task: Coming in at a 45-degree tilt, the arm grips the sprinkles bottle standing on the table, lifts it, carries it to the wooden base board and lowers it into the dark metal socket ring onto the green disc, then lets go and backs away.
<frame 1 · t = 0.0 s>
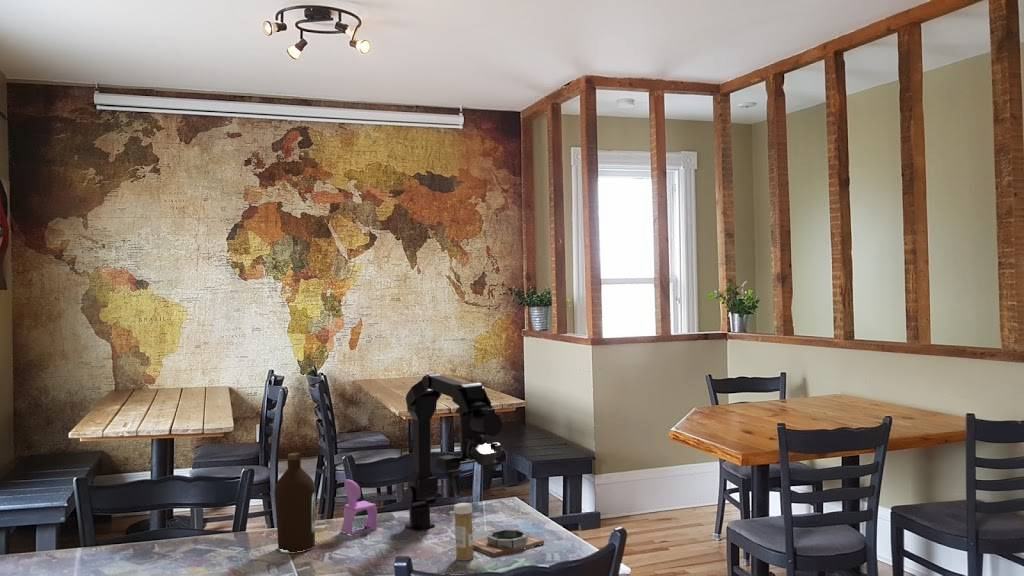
hand: (472, 492, 219), 15 cm above the table, tool pointing down, fingers open, 9 cm apart
wooden base board: (505, 545, 221), on the table
toy chair: (359, 531, 239), on the table
olive oil: (297, 549, 224), on the table
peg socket: (507, 546, 221), resting on wooden base board
sprinkles bottle: (464, 559, 211), on the table
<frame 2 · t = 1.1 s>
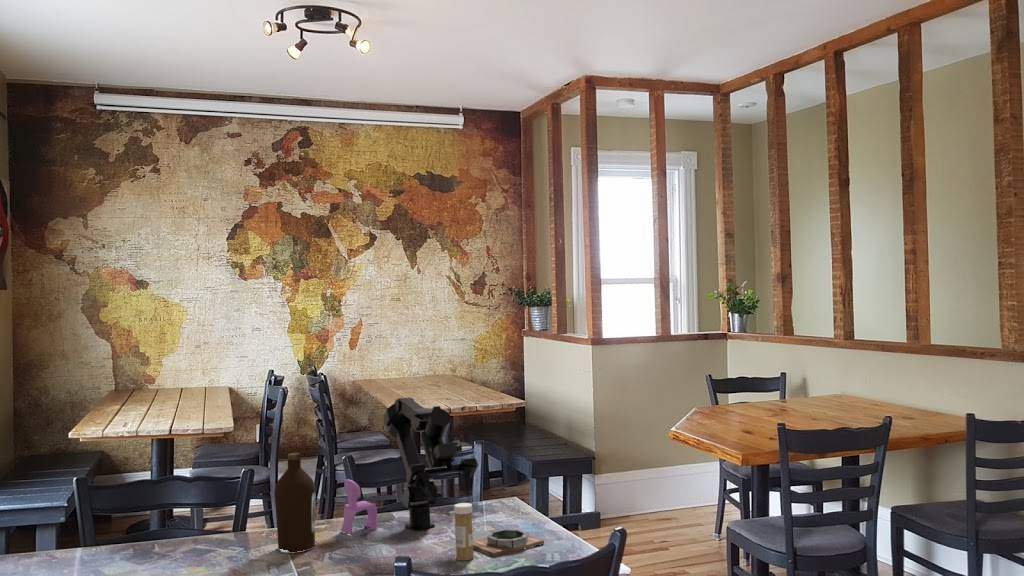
hand: (451, 498, 219), 13 cm above the table, tool tilted 45°, fingers open, 9 cm apart
nothing on the table moved.
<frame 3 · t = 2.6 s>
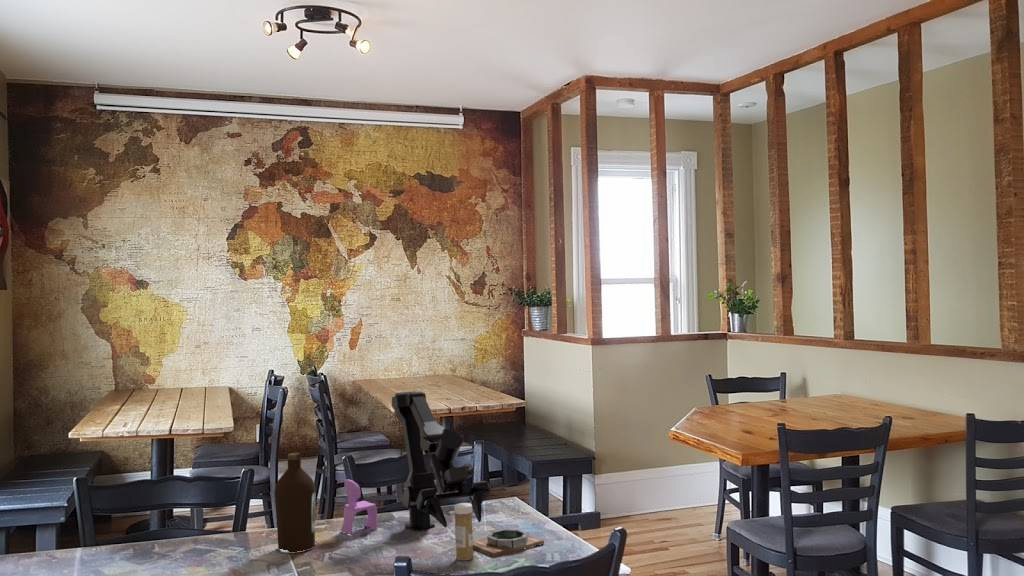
hand: (463, 523, 212), 9 cm above the table, tool tilted 45°, fingers open, 9 cm apart
nothing on the table moved.
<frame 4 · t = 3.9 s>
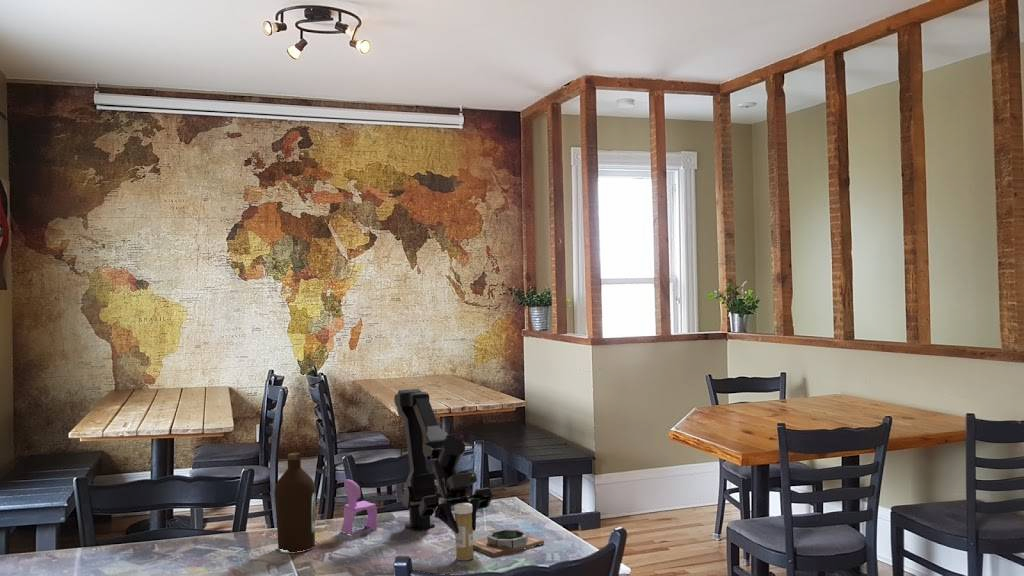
hand: (465, 531, 210), 7 cm above the table, tool tilted 45°, fingers closed on sprinkles bottle, 4 cm apart
sprinkles bottle: (464, 559, 211), on the table, touching gripper
everything else where it was.
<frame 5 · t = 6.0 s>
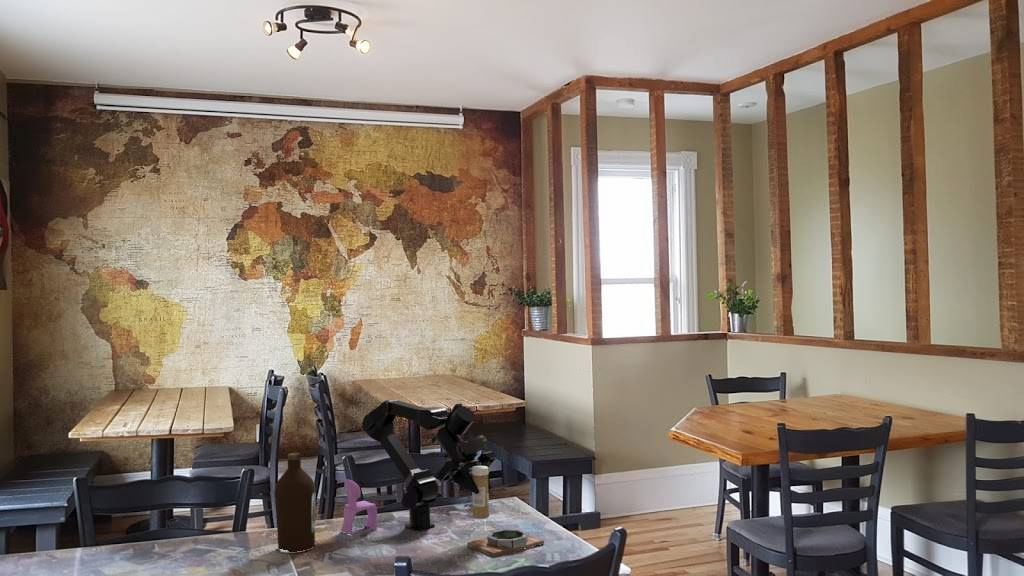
hand: (484, 491, 226), 13 cm above the table, tool tilted 45°, fingers closed on sprinkles bottle, 4 cm apart
sprinkles bottle: (480, 518, 226), point 6 cm above the table, touching gripper
everything else where it was.
when the fingers open (9 cm above the table, at t = 8.0 s): sprinkles bottle stays where it is, resting on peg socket.
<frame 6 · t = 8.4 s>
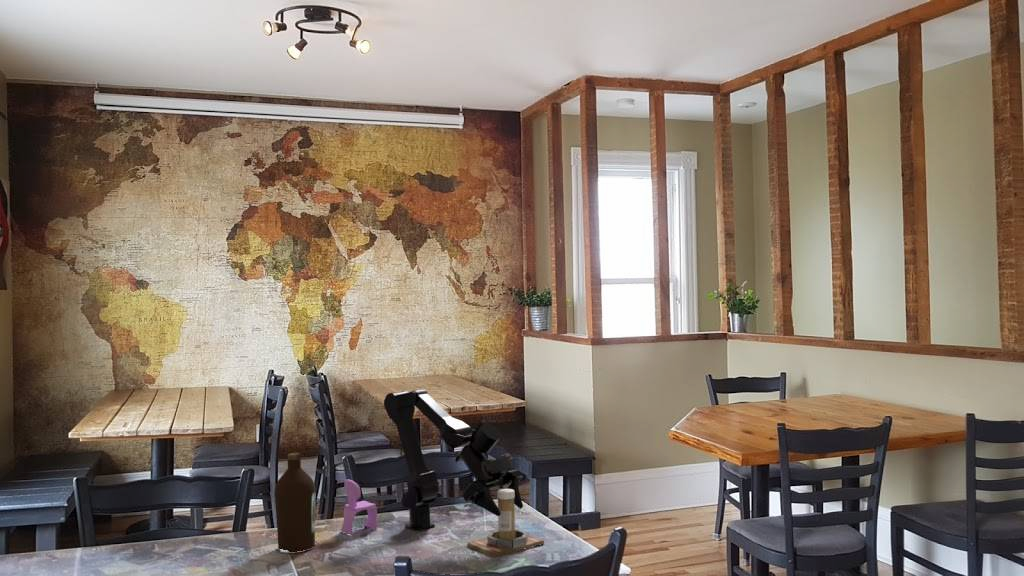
hand: (510, 511, 220), 9 cm above the table, tool tilted 45°, fingers open, 9 cm apart
sprinkles bottle: (507, 542, 221), point 1 cm above the table, touching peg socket
everything else where it was.
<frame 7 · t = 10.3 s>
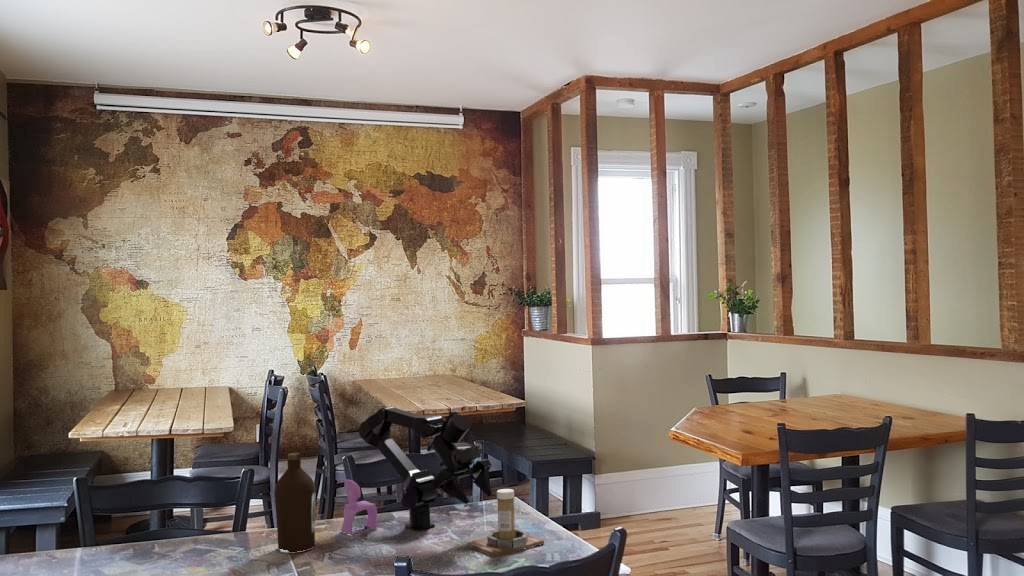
hand: (479, 499, 227), 11 cm above the table, tool tilted 45°, fingers open, 9 cm apart
nothing on the table moved.
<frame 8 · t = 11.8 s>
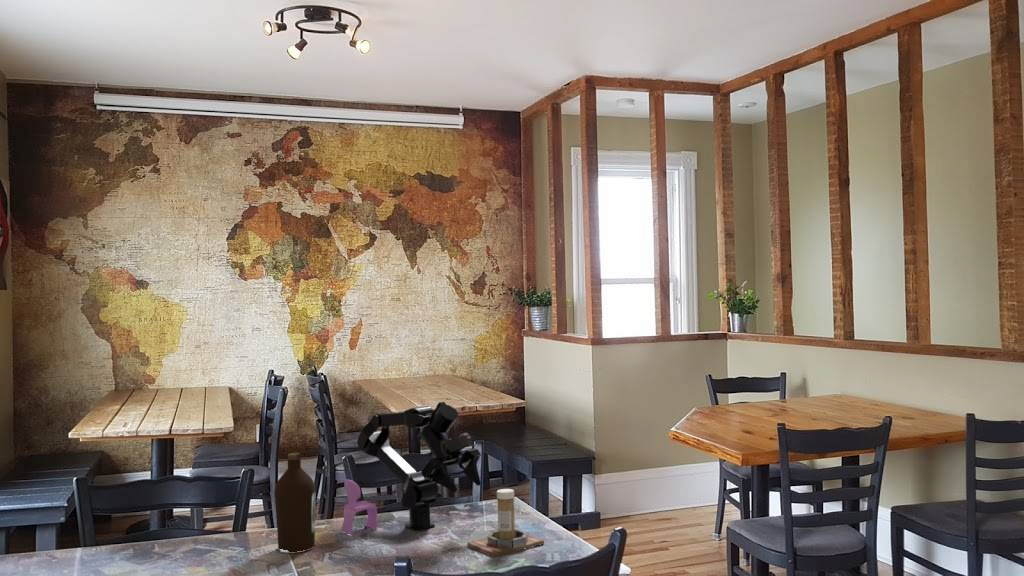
hand: (468, 488, 229), 14 cm above the table, tool tilted 45°, fingers open, 9 cm apart
nothing on the table moved.
at the end: sprinkles bottle 0.2 cm from the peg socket (horizontally); sprinkles bottle tilted 0°; the gripper is holding nothing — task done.
